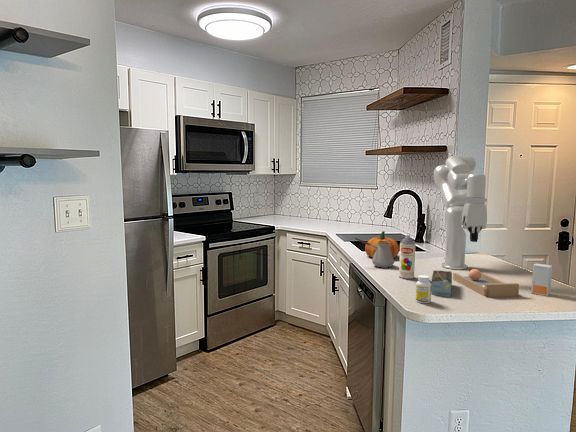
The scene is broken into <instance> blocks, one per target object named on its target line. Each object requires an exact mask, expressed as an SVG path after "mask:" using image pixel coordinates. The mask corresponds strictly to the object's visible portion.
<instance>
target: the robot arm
mask: <svg viewBox="0 0 576 432" xmlns="http://www.w3.org/2000/svg"><path fill="white" fill-rule="evenodd" d="M476 165H477V162H476V159H475V158H474V157H473V156H472V155H452V156H449V157H448V158H446V159H445V164H441V165H437V166H436V167H435V168H434V170H433V180H434V183H435V185H436V187H437V189H438V190H439V191H440V194H441V197H442V201H443V203H444V206H445V208H446V210H445V212H444V213H445V214H444V216H445V217H444V218H445V224H446V225H445V226H446V227H445V229H446V230H445V232H446V233H445V254H444V258H443V259H444V262H442V263H441V267H442V268H445V269H449V270H461V271H462V270H467V269H469V268H468V267H469V266H468V265H467V264H466V263H465V262H466V247H467V246H466V245H467V233H466V230H467V231H468V232H469V240H470V242H471V243H472V242H473V243H477V242H478V240H479V233H480V232H481V231H482V230H485V229H486V228H487V224H488V211H487V205H486V202H488V199H487V198H486V182H487V179H486V178H487V177H486V175H485V174H484V173H473V172H474V171H475V169H476ZM460 190H463V191H460ZM464 190H465V191H466V192H465V191H464Z"/></svg>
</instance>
